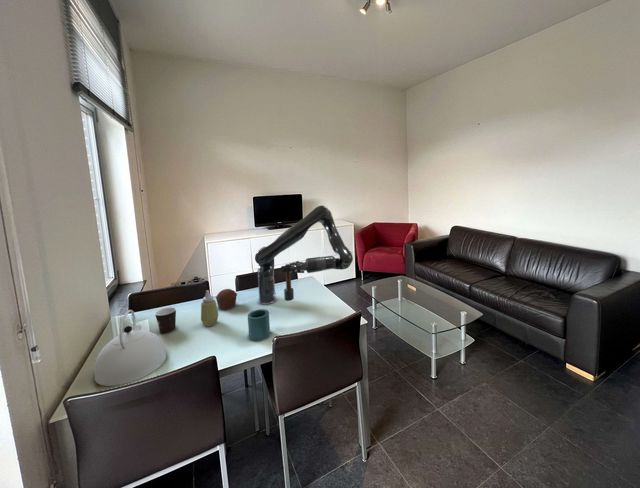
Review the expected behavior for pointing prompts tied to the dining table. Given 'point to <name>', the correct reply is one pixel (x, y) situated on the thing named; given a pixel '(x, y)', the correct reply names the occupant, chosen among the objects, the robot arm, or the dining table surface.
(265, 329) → the jar
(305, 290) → the dining table surface
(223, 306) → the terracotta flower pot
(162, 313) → the coffee mug
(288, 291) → the dowel
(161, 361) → the kettle
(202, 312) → the squeeze bottle
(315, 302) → the dining table surface
